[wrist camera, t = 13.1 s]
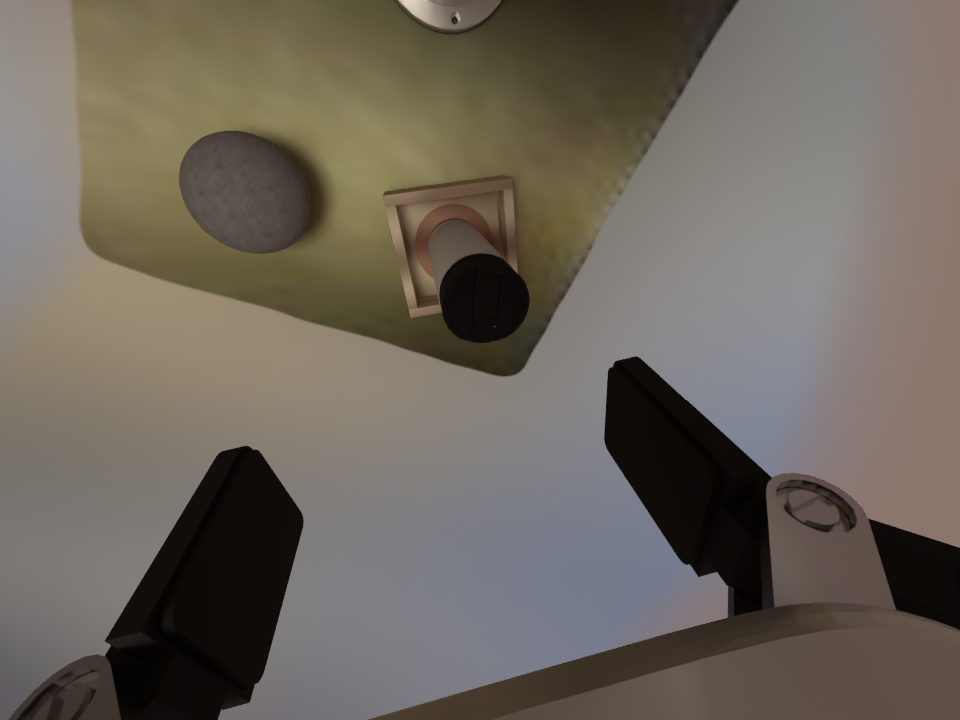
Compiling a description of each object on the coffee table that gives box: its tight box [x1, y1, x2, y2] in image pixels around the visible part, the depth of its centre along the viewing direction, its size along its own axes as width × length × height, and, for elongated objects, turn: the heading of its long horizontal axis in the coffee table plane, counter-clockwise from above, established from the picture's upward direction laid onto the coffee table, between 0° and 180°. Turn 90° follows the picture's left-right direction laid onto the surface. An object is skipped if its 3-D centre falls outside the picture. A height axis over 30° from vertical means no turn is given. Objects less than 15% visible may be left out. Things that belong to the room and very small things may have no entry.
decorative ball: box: [179, 131, 312, 254], centre depth 32 cm, size 10×10×10 cm
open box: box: [383, 176, 518, 318], centre depth 41 cm, size 13×13×4 cm
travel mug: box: [427, 218, 529, 343], centre depth 33 cm, size 6×7×20 cm
